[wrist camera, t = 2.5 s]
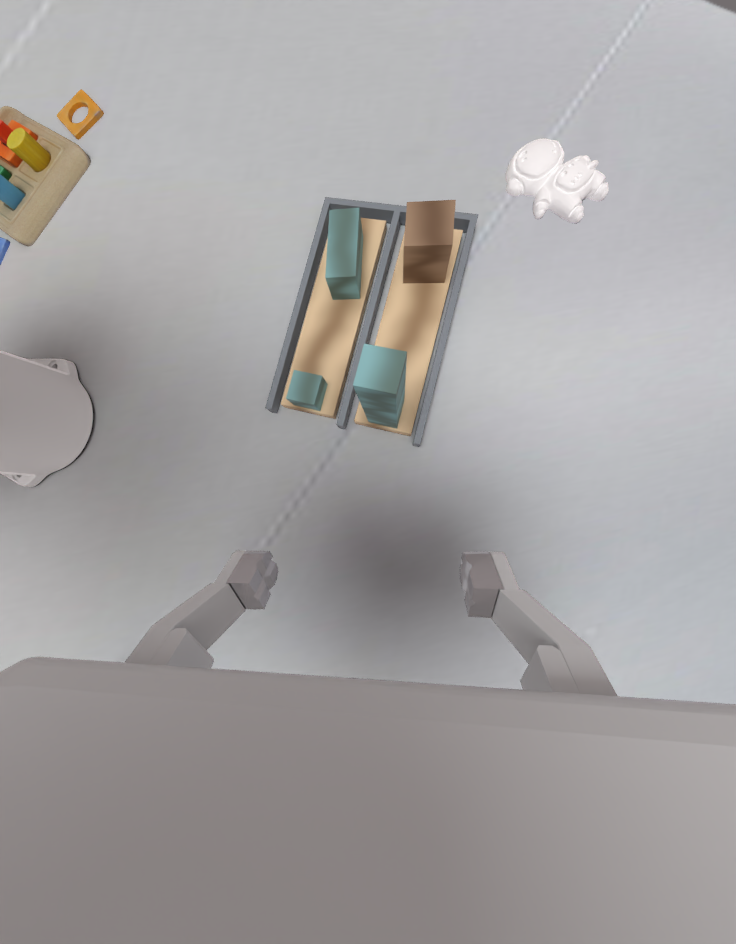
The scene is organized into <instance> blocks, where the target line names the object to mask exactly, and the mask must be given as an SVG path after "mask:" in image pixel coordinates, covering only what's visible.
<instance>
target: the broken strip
mask: <svg viewBox="0 0 736 944" xmlns="http://www.w3.org/2000/svg"><path fill="white" fill-rule="evenodd" d="M386 230H387V228H386V221H384V220H376V219H368V218H361V216H360V209H359V208H347V209H335V210H330V211H329V226H328V238H327V242H326V245H325V249H324V252H323V256H322V259H321V263H320V266H319V270H318V274H317V277H316V281H315V284H314V288H313V291H312V295H311V298H310V302H309V305H308V309H307V312H306V316H305V320H304V323H303V327H302V330H301V334H300V337H299V341H298V344H297V348H296V351H295V355H294V359H293V362H292V366H291V369H290V373H289V376H288V380H287V383H286V387H285V390H284V394H283V398H282V401H281V405H282V406H284V407H286V408H290V409H294V410H299V411H303V412H307V413H312V414H316V415H320V416H325V417H329V418H333V419H336V415H337V411H338V408H339V404H340V400H341V397H342V393H343V389H344V386H345V382H346V378H347V375H348V371H349V367H350V363H351V360H352V356H353V352H354V349H355V345H356V341H357V338H358V334H359V330H360V326H361V323H362V319H363V315H364V312H365V308H366V304H367V301H368V297H369V293H370V290H371V286H372V282H373V278H374V275H375V271H376V267H377V264H378V260H379V256H380V253H381V249H382V245H383V241H384V238H385V234H386Z"/></svg>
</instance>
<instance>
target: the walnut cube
mask: <svg viewBox="0 0 736 944" xmlns="http://www.w3.org/2000/svg"><path fill="white" fill-rule="evenodd" d="M454 216H455V200H443V201H423V202H407V210H406V223H405V236H404V256H403V283H445V278H446V273H447V269H448V264H449V260H450V255H451V250H452V246H453V232H454Z"/></svg>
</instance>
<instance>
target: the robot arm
mask: <svg viewBox="0 0 736 944" xmlns="http://www.w3.org/2000/svg"><path fill="white" fill-rule="evenodd" d="M92 423H93V409H92V404H91V400H90V398H89V395H88V393H87V391H86V390H85V388H84V387H83V386H82V384H81V383H80V381H79V379H78V374H77V370H76V366H75V364H74V363H73V362H71V361H68V360H65V359H25V358H22V357H19V356H16V355H13V354H10V353H7V352H4V351H1V350H0V473H1V474H2V475H4V476H6V477H7V478H9V479H11V480H12V481H14V482H15V483H17V484H19V485H21V486H26V487H34V486H36V485H37V484H39V483H40V482H41V481H42V480H43V479H44V478H45V477H46V476H47V475H49V474H50V473H52V472H55V471H58V470H60V469H62V468H64V467H66V466H67V465H69V464H70V463H71V462H72V461H74V460H75V459H76V458H77V456H78V455H79V454H80V453H81V451H82V450H83V448H84V447H85V445H86V443H87V441H88V439H89V436H90V433H91V429H92ZM272 557H273V556H272V554H271V552H270V551H235V552H234V553H233V554H232V555H231V557H230V558H229V560H228V562H227V563H226V565H225V566H224V568H223V569H222V571H221V572H220V574H219V576H218V577H217V579H216V580H215V582H214V583H210V584H209V585H207V586H206V587H205V588H203V589H202V590H200V591H199V592H198V593H196V594H195V595H194V596H192V597H191V598H189V599H188V600H187V601H185V602H184V603H183V604H181V605H180V606H178V607H177V608H176V609H174V610H173V611H172V612H170V613H169V614H167V615H166V616H165V617H163V618H162V619H161V620H159V621H158V622H156V623H155V624H154V625H152V626H151V628H150V629H149V631H148V632H147V633H146V635H145V636H144V637H143V639H142V640H141V641H140V643H139V644H138V645H137V647H136V648H135V649H134V651H133V652H132V653H131V655H130V656H129V657H128V659H127V660H126V661H125V663H123V662H108V661H94V660H79V659H64V658H51V657H31V658H27V659H24V660H22V661H20V662H18V663H16V664H14V665H12V666H10V667H8V668H7V669H5V670H3V671H1V672H0V944H736V704H722V703H708V702H693V701H679V700H664V699H650V698H635V697H620V696H617V694H616V692H615V691H614V689H613V687H612V685H611V683H610V681H609V680H608V678H607V676H606V674H605V672H604V671H603V669H602V667H601V665H600V663H599V661H598V660H597V658H596V656H595V654H594V652H593V650H592V649H591V647H590V646H589V645H588V644H587V643H586V642H584V641H583V640H582V639H581V638H580V637H579V636H577V635H576V634H575V633H574V632H573V631H572V630H570V629H569V628H568V627H567V626H566V625H565V624H563V623H562V622H561V621H560V620H559V619H558V618H556V617H555V616H554V615H553V614H552V613H551V612H549V611H548V610H547V609H546V608H545V607H544V606H542V605H541V604H540V603H539V602H538V601H537V600H535V599H534V598H533V597H532V596H531V595H530V594H528V593H527V592H526V591H525V590H520V588H519V586H518V583H517V581H516V579H515V576H514V574H513V572H512V569H511V567H510V565H509V562H508V560H507V557H506V555H505V553H504V552H488V551H483V552H463V553H462V557H461V559H462V564H461V565H460V580H461V586H462V589H463V590H464V591H465V592H466V593H465V604H466V608H467V613H468V616H470V617H486V618H492V620H493V621H494V623H495V624H496V625H497V626H498V627H499V629H500V630H501V631H502V632H503V634H504V635H505V636H506V637H507V638H508V640H509V641H510V642H511V643H512V644H513V646H514V647H515V648H516V649H517V651H518V652H519V653H520V654H521V655H522V657H523V658H524V659H525V660H526V661H527V663H528V664H529V665H528V667H527V669H526V671H525V672H524V674H523V676H522V678H521V680H520V682H521V685H522V688H523V690H518V689H504V688H489V687H475V686H460V685H446V684H431V683H416V682H402V681H387V680H373V679H358V678H343V677H329V676H314V675H300V674H285V673H270V672H256V671H241V670H226V669H211V666H212V664H213V662H214V659H213V657H212V656H211V655H210V654H209V653H208V652H207V651H206V650H207V649H208V648H209V647H210V646H211V645H212V644H213V643H214V642H215V641H216V640H217V639H218V638H219V637H220V636H221V635H222V634H223V633H224V632H225V631H226V630H227V629H228V628H229V627H230V626H231V625H232V624H233V623H234V622H235V621H236V620H237V619H238V618H239V617H240V616H241V614H242V613H243V612H244V611H245V609H265V606H266V604H267V602H268V599H269V597H270V595H271V594H270V591H269V589H270V588H272V587H273V586H274V585H275V583H276V580H277V576H278V567H277V565H276V563H275V562H274V561H272V560H271V559H272Z"/></svg>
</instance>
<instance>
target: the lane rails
mask: <svg viewBox="0 0 736 944" xmlns="http://www.w3.org/2000/svg"><path fill="white" fill-rule="evenodd" d="M347 208H359V209H360V216H361V218H368V219H376V220H384V221H386V223H391V225H390V228H389V232H388V236H387V239H386V243H385V247H384V250H383V254H382V258H381V262H380V265H379V269H378V273H377V276H376V280H375V284H374V288H373V291H372V295H371V299H370V302H369V306H368V310H367V313H366V317H365V321H364V325H363V328H362V332H361V336H360V339H359V343H358V347H357V350H356V354H355V358H354V362H353V365H352V369H351V373H350V376H349V380H348V384H347V387H346V391H345V395H344V399H343V402H342V406H341V410H340V413H339V417H338V421H337V424H336V425H337V426H338V427H339V428H342V429H346V425H347V422H348V418H349V414H350V410H351V407H352V403H353V399H354V396H355V392H356V391H355V389H354V387H353V383H354V379H355V376H356V372H357V368H358V364H359V361H360V357H361V353H362V349H363V346H364V344H368V343H369V340H370V336H371V332H372V328H373V325H374V321H375V317H376V313H377V310H378V306H379V302H380V299H381V295H382V291H383V287H384V284H385V280H386V276H387V272H388V269H389V265H390V261H391V258H392V254H393V250H394V246H395V243H396V239H397V235H398V231H399V228H400V225H405V223H406V210H407V206H399V205H391V204H382V203H373V202H365V201H356V200H347V199H338V198H330V197H325V200H324V204H323V207H322V211H321V214H320V218H319V221H318V225H317V228H316V232H315V235H314V239H313V242H312V246H311V249H310V253H309V256H308V260H307V263H306V267H305V271H304V274H303V278H302V281H301V285H300V288H299V292H298V295H297V299H296V302H295V306H294V309H293V313H292V316H291V320H290V323H289V327H288V330H287V334H286V337H285V341H284V344H283V348H282V351H281V355H280V358H279V362H278V365H277V369H276V372H275V376H274V379H273V383H272V386H271V390H270V393H269V397H268V400H267V404H266V407H265V408H266V409H268V410H269V411H271V412H274V413H277V411H278V408H279V404H280V401H281V397H282V394H283V390H284V387H285V383H286V380H287V376H288V373H289V369H290V365H291V362H292V358H293V355H294V351H295V348H296V344H297V341H298V337H299V334H300V330H301V327H302V323H303V319H304V316H305V312H306V309H307V305H308V302H309V298H310V295H311V291H312V288H313V284H314V280H315V277H316V273H317V270H318V266H319V263H320V259H321V256H322V252H323V249H324V245H325V242H326V238H327V234H328V226H329V211H330V210H335V209H347ZM477 218H478V214H469V213H461V212H455V216H454V229H457V230H463V232H465V233H466V237H465V241H464V245H463V249H462V253H461V257H460V261H459V265H458V269H457V273H456V277H455V281H454V284H453V288H452V292H451V296H450V300H449V304H448V308H447V312H446V316H445V320H444V324H443V328H442V332H441V336H440V340H439V343H438V347H437V351H436V355H435V359H434V363H433V367H432V371H431V375H430V379H429V383H428V387H427V391H426V395H425V399H424V403H423V406H422V410H421V414H420V418H419V422H418V426H417V430H416V434H415V438H414V442H413V445H414V446H418V447H419V446H420V443H421V439H422V435H423V431H424V427H425V423H426V419H427V415H428V411H429V407H430V403H431V400H432V396H433V392H434V388H435V384H436V380H437V376H438V372H439V368H440V364H441V360H442V356H443V352H444V348H445V344H446V340H447V336H448V332H449V328H450V324H451V320H452V316H453V312H454V309H455V305H456V301H457V297H458V293H459V289H460V285H461V281H462V277H463V273H464V269H465V265H466V261H467V257H468V253H469V249H470V245H471V241H472V237H473V233H474V229H475V225H476V221H477Z"/></svg>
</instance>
